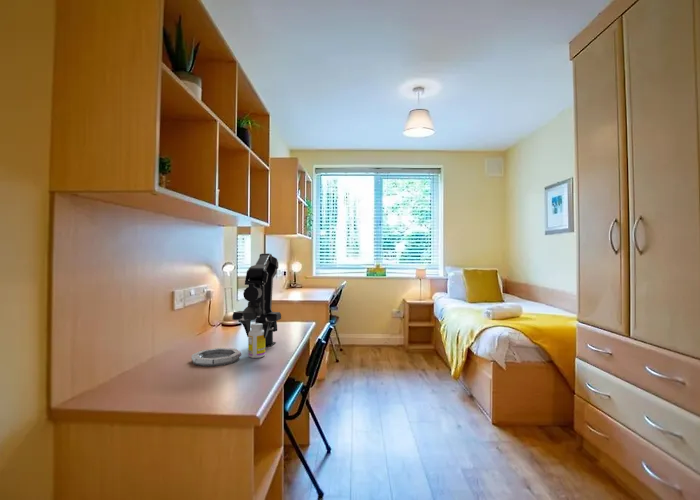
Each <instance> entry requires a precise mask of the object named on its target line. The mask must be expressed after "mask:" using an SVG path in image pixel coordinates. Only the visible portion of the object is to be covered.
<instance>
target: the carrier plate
mask: <svg viewBox="0 0 700 500" xmlns="http://www.w3.org/2000/svg"><path fill="white" fill-rule="evenodd" d="M241 357H242V352H241V351H240V350H239V349H237V348H229V347H217V348H210V349H203V350H200V351H197V352H194V353H193V354H191V361H192V364H193V365H195V366H199V367H220V366H221V367H222V366H227V365H230V364H234V363H236V362H238V361H239V360H240V358H241Z"/></svg>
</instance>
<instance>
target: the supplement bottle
mask: <svg viewBox="0 0 700 500" xmlns="http://www.w3.org/2000/svg"><path fill="white" fill-rule="evenodd" d="M262 327H263V324H261V323H251V327H250V331H249V333H248V337H247V338H248V340H247V341H248V345H247V347H248V348H247V349H248V350H247V351H248V353H247V354H248V357H249V358H251V359H261V358H263V357H265V355H266V346H265V338H264V330H262Z"/></svg>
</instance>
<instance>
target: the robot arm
mask: <svg viewBox="0 0 700 500" xmlns="http://www.w3.org/2000/svg"><path fill="white" fill-rule="evenodd" d="M278 260H279V259H278V258H277V257H275V256H273V255H272V253H267V252H266V253H260V254H259V258H258V260H257V261H256V263H255V264H254V265H251V266H250V267H249V268H248V270H247V269H246V270H247V271H246V275H245V279H244V286H247V287H246V288H245V289H244V290H243V295H242V296H243V298H244V300H245V301H247V302H248V303H247V306H246V307H245V308H244V309H243V310H237V311H235V312H233V313H232V318H231V319H232V321H237V322H238V323H240V324H241V325H242V327H243V328H244V331H245V334H246V336H247V338H248V333H249V331H251V324H252V323H251V321H254V320H255V323H261V324H263V327H262V330H264V338H265V347H271V346H273V345H275V344H276V343H277V342H276V341H274V333H275V332H278V323H277V322H278V321H280V320H282V314H281V312H280V311H273V310H272V303H273V285H274V284H273V283H274V278H275V276H276V275H277V273H278V269H279V261H278ZM255 323H254V324H255Z"/></svg>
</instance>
